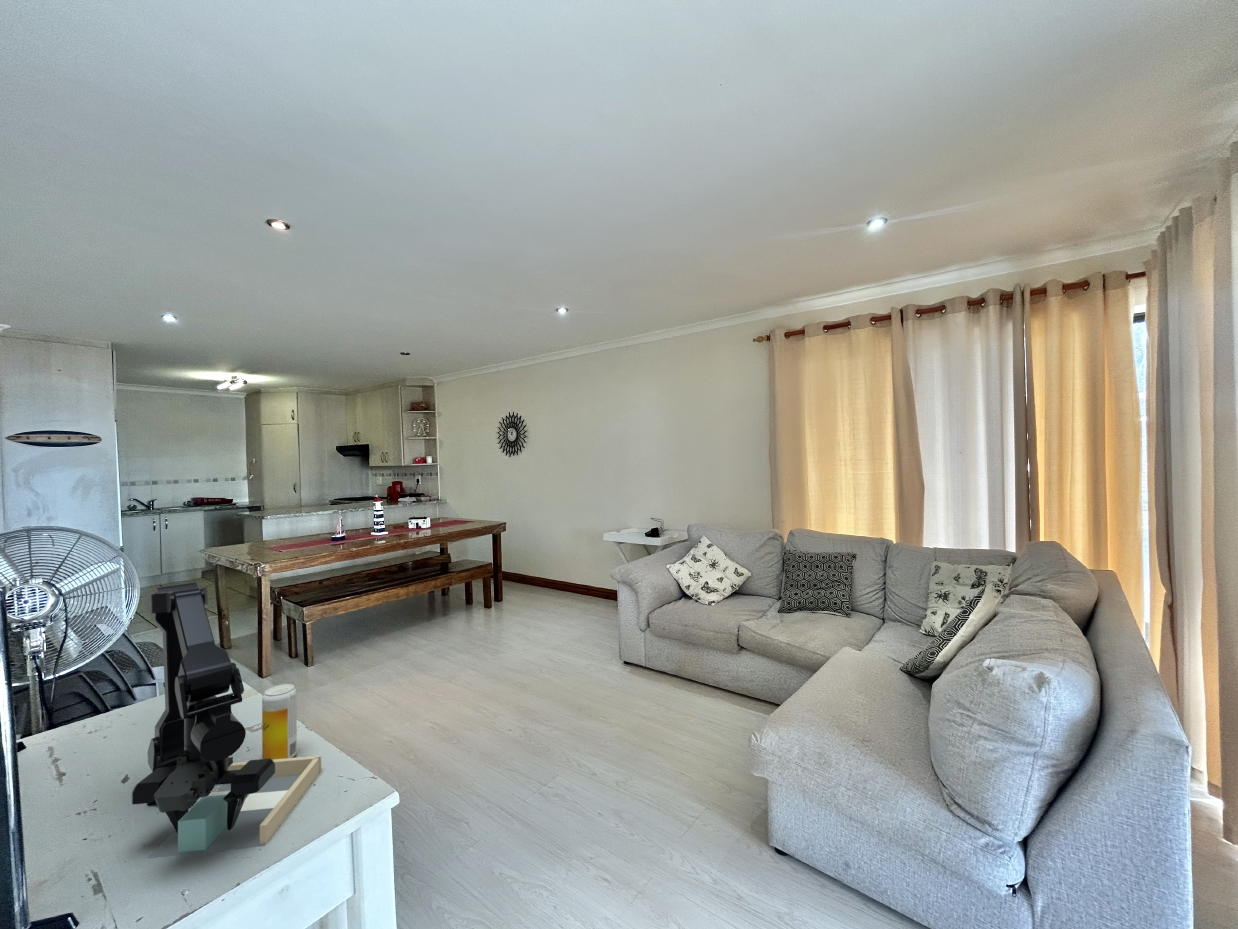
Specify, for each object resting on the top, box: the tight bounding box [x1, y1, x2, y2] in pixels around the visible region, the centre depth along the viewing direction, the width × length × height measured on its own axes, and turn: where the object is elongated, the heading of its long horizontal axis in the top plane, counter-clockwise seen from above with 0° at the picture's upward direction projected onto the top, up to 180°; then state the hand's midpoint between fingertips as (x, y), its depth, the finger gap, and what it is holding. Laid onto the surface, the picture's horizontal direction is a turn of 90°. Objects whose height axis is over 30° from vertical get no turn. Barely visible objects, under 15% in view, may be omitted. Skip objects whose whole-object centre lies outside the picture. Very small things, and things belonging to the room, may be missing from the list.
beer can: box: [261, 683, 298, 760], centre depth 106 cm, size 6×6×15 cm
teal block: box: [178, 791, 230, 852], centre depth 84 cm, size 4×7×5 cm, turn 8°
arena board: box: [147, 755, 322, 859], centre depth 90 cm, size 17×20×4 cm
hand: (206, 831), depth 84 cm, fingers open, 7 cm apart
